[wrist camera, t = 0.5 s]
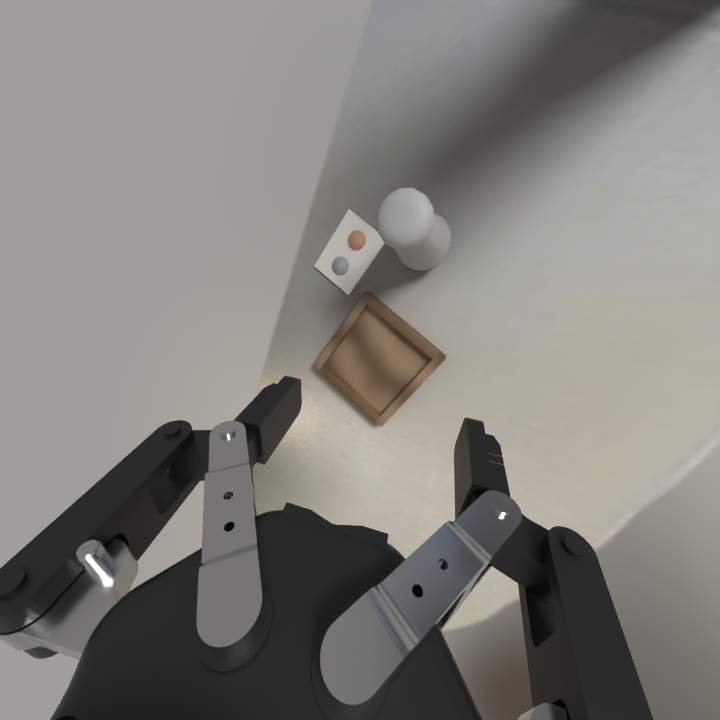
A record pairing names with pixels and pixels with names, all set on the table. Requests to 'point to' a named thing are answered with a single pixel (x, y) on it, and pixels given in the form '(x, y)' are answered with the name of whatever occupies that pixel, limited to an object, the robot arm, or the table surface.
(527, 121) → the table surface
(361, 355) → the walnut tray
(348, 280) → the card
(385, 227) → the salt shaker
